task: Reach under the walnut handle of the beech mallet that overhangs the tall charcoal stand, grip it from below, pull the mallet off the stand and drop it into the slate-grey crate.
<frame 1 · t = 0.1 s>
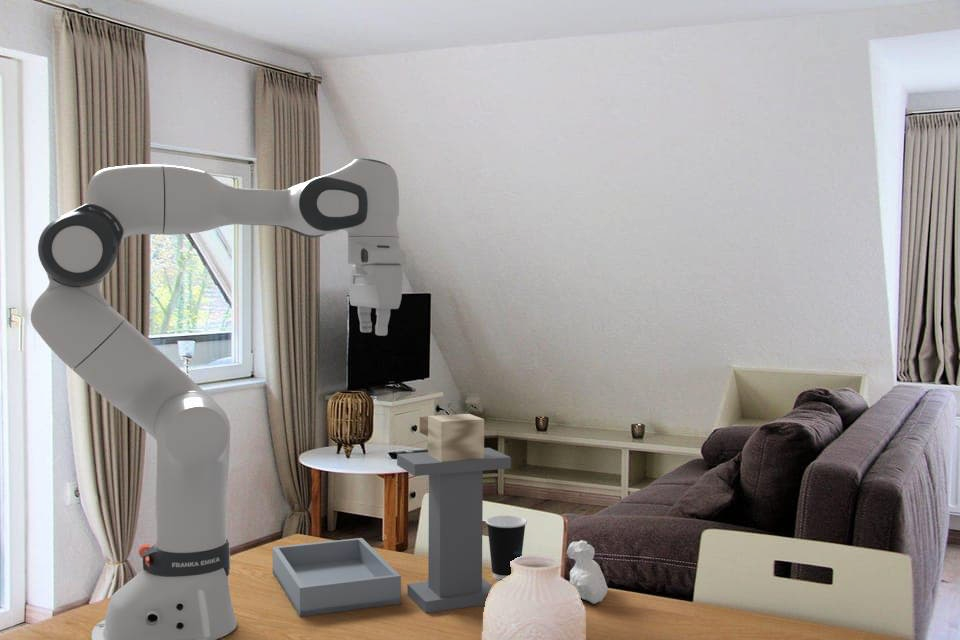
hand: (373, 333, 165), 48 cm above the table, tool pointing down, fingers open, 8 cm apart
dixie cup: (505, 577, 183), on the table
crate: (333, 587, 176), on the table
mallet: (455, 456, 168), point 26 cm above the table, touching stand
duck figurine: (586, 598, 172), on the table
stand: (452, 598, 171), on the table
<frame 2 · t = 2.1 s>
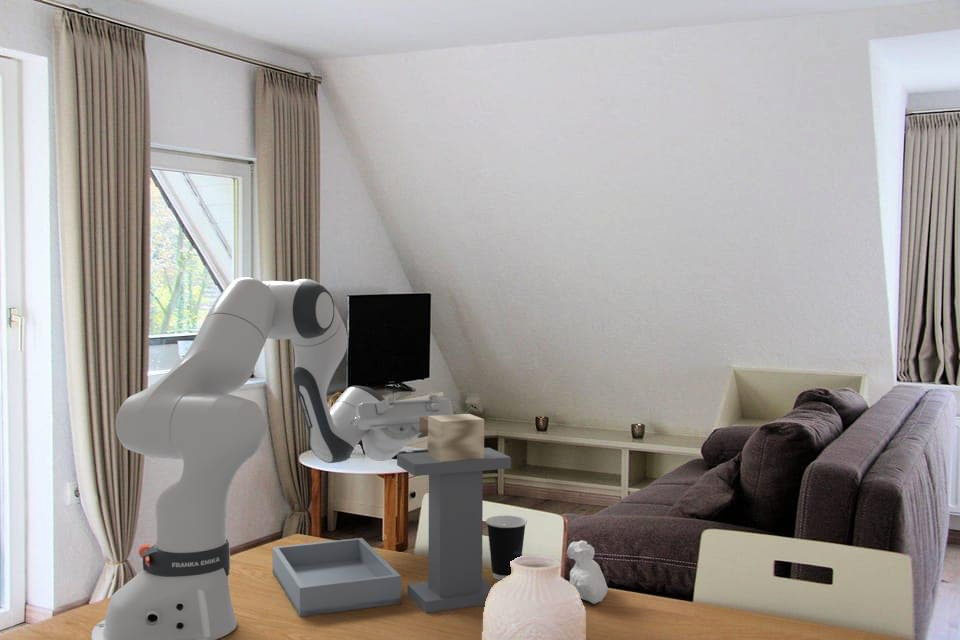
hand: (413, 399, 191), 33 cm above the table, tool pointing upward, fingers open, 8 cm apart
nothing on the table moved.
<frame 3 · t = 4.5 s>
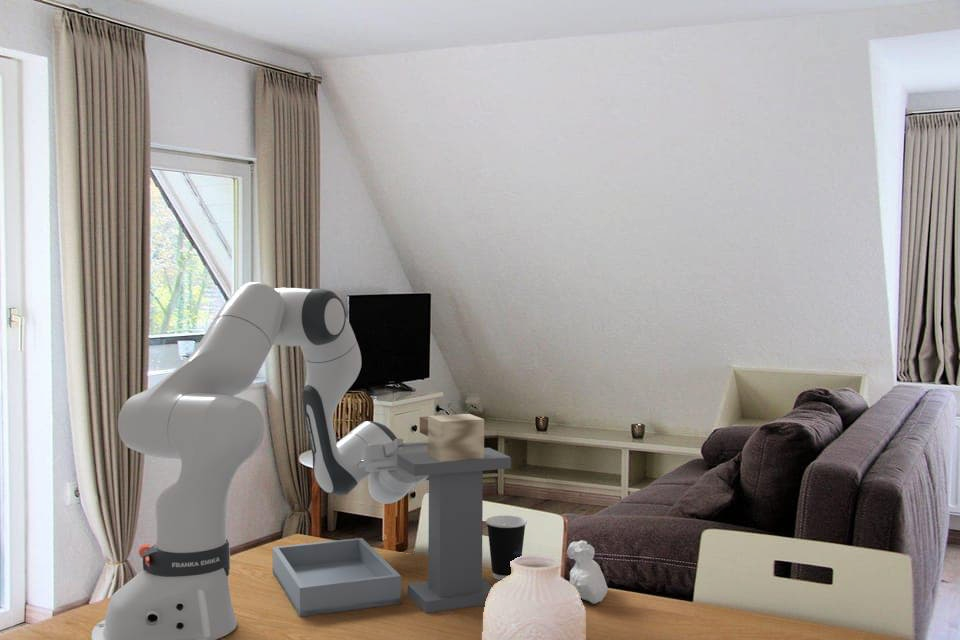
hand: (422, 440, 185), 26 cm above the table, tool pointing upward, fingers open, 8 cm apart
nothing on the table moved.
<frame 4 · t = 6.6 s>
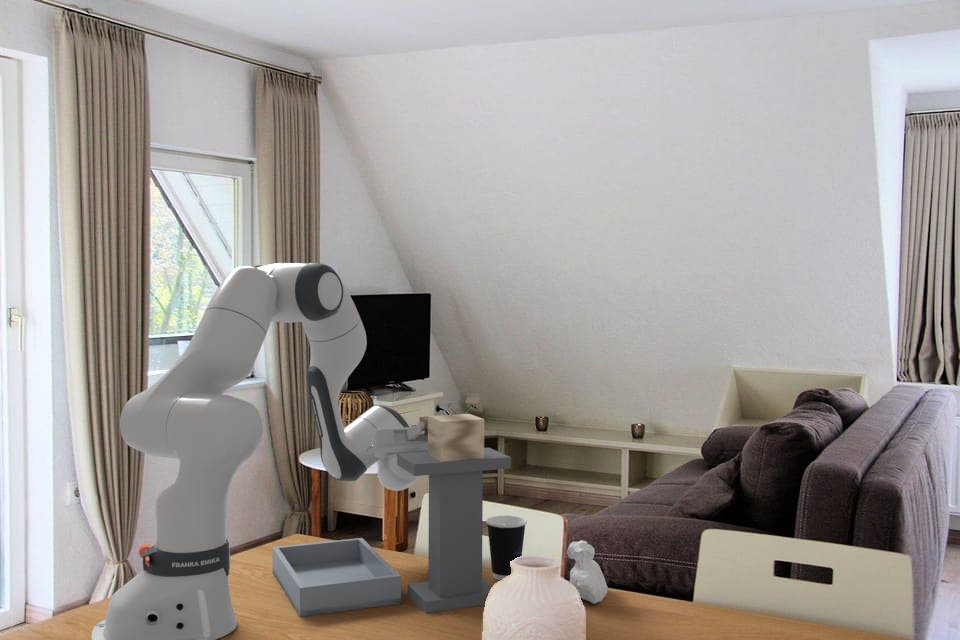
hand: (434, 425, 179), 30 cm above the table, tool pointing upward, fingers closed on mallet, 3 cm apart
mallet: (455, 456, 168), point 26 cm above the table, touching gripper, stand
everything else where it was.
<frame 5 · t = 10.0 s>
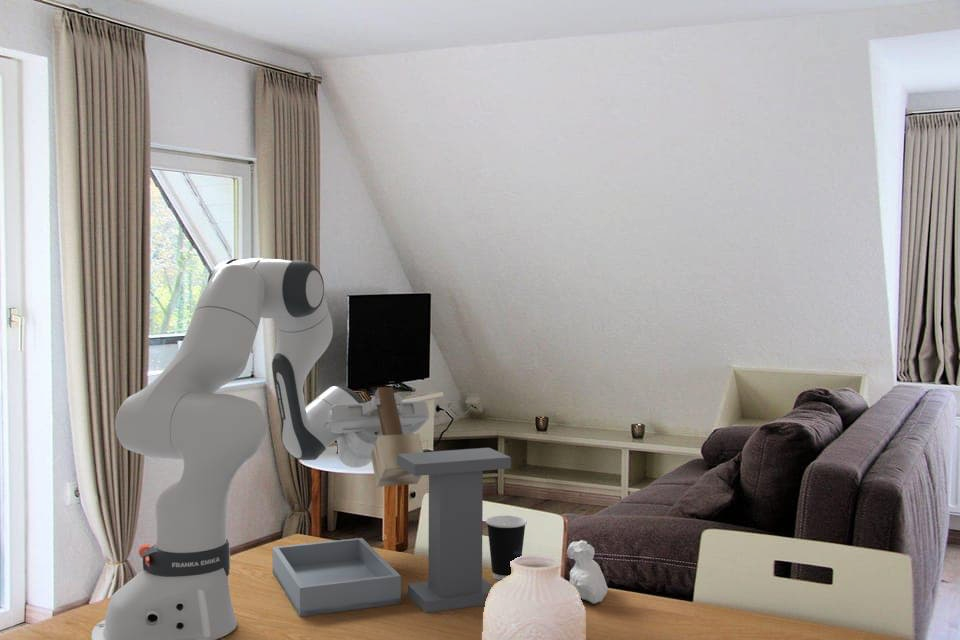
hand: (387, 400, 185), 34 cm above the table, tool pointing upward, fingers closed on mallet, 3 cm apart
mallet: (393, 469, 182), point 21 cm above the table, tilted 50°, touching gripper
everything else where it was.
when the fingers open (20 cm above the table, at t = 13.4 s): mallet drops 5 cm and tips over, resting on arm, crate.
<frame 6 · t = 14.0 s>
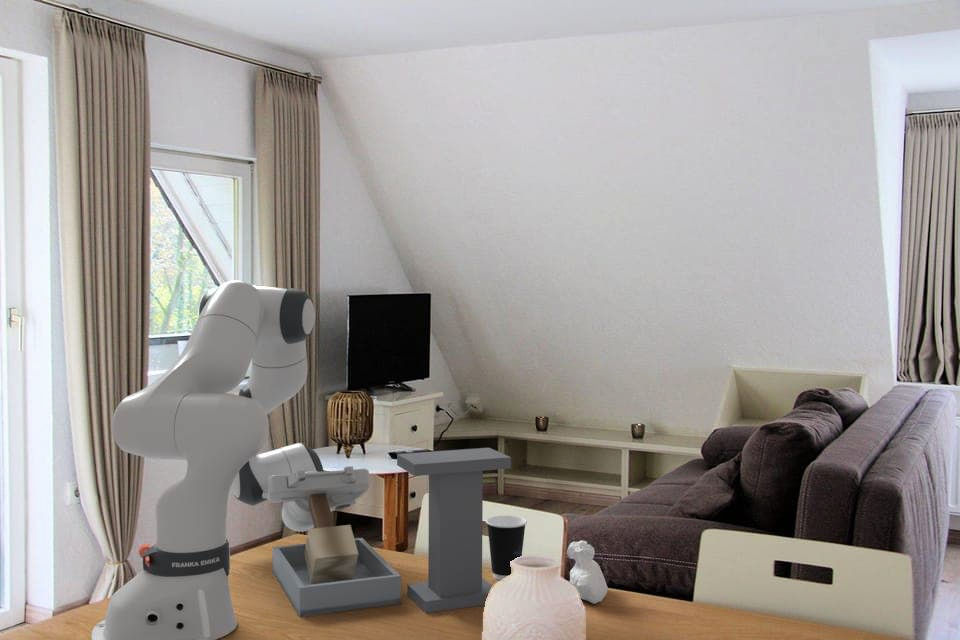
hand: (325, 472, 181), 20 cm above the table, tool pointing upward, fingers open, 8 cm apart
mallet: (328, 565, 180), point 3 cm above the table, tilted 34°, touching arm, crate
everything else where it was.
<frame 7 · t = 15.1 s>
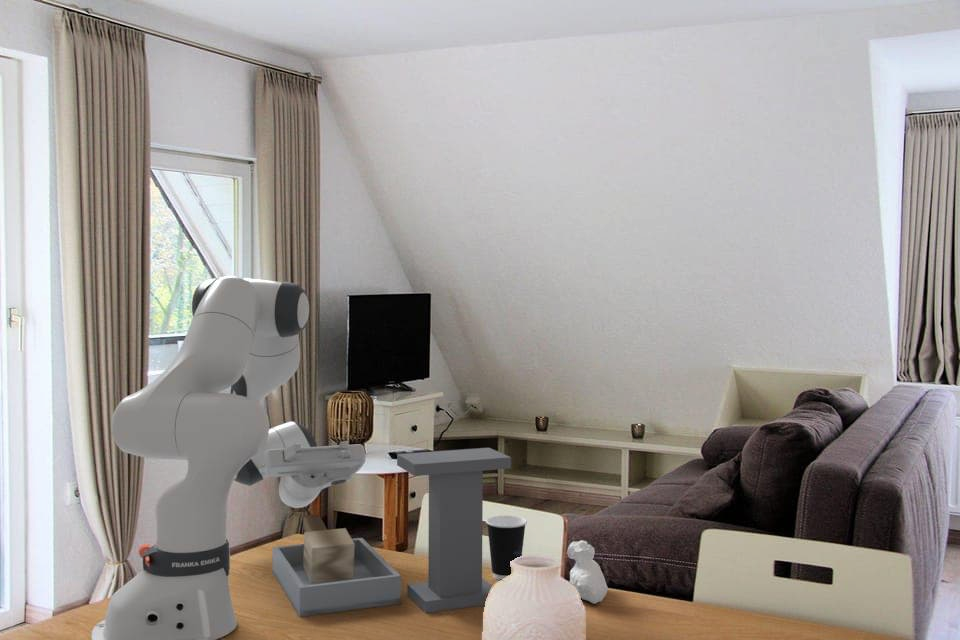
hand: (321, 446, 185), 25 cm above the table, tool pointing upward, fingers open, 8 cm apart
mallet: (327, 571, 180), point 2 cm above the table, tilted 10°, touching crate
everything else where it was.
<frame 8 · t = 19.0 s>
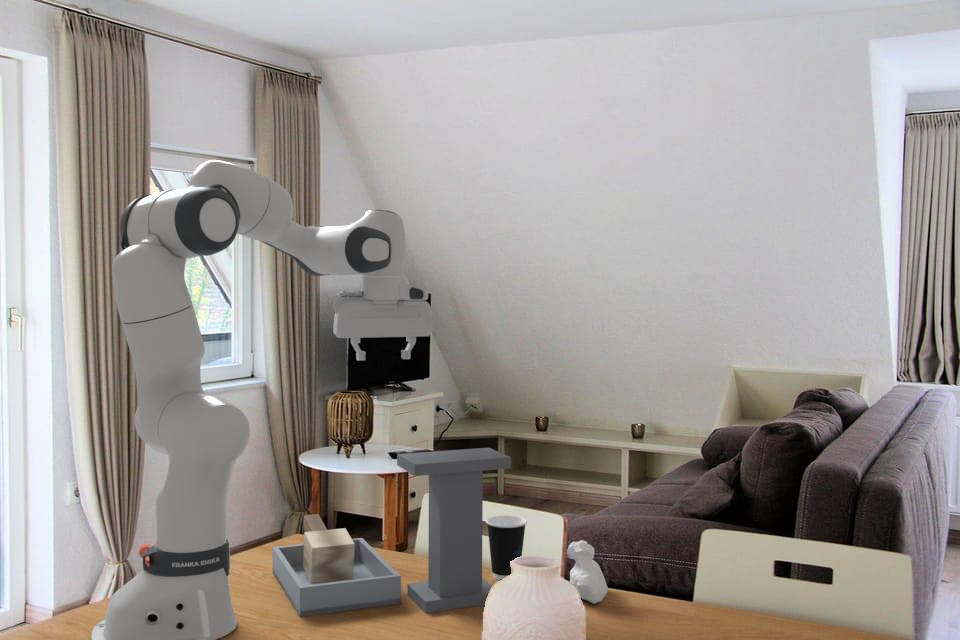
hand: (383, 359, 192), 41 cm above the table, tool pointing down, fingers open, 8 cm apart
nothing on the table moved.
at the end: mallet inside the target area on the crate (4.8 cm from its centre), point 1.6 cm above the crate's base; mallet touching crate; the gripper is holding nothing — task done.
